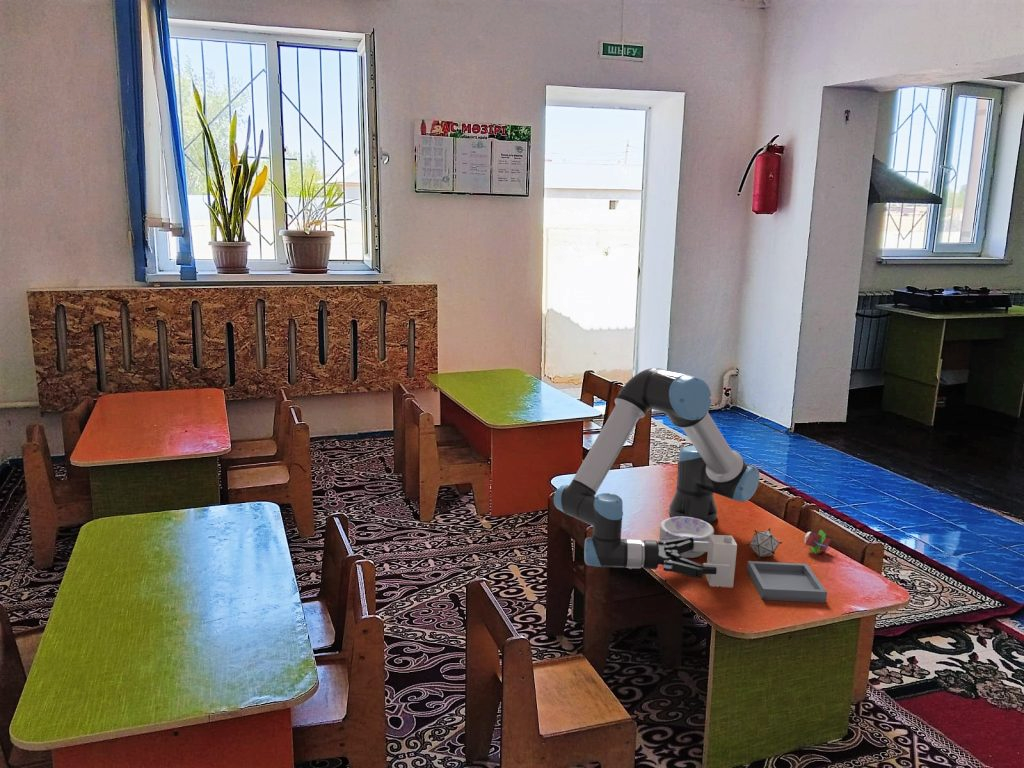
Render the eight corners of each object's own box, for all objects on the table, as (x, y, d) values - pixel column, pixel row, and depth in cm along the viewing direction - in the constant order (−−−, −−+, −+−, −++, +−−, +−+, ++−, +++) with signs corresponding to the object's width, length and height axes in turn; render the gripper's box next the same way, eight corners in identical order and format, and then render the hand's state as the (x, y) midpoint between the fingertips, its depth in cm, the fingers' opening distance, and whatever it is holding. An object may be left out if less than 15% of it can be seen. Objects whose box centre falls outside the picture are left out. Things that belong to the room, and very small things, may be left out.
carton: (705, 575, 208) (709, 531, 205) (727, 576, 208) (732, 532, 205) (709, 586, 202) (714, 540, 199) (733, 587, 202) (737, 541, 199)
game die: (767, 571, 220) (784, 554, 213) (740, 558, 221) (755, 540, 214) (772, 546, 226) (788, 529, 219) (745, 533, 227) (760, 516, 220)
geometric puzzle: (830, 540, 228) (816, 520, 226) (841, 550, 221) (827, 529, 220) (809, 553, 229) (796, 533, 227) (820, 563, 222) (806, 543, 220)
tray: (746, 571, 211) (747, 561, 211) (805, 573, 211) (806, 563, 210) (762, 599, 196) (763, 588, 195) (825, 602, 195) (827, 592, 194)
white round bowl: (663, 562, 215) (665, 536, 214) (654, 539, 230) (656, 515, 229) (718, 564, 215) (720, 537, 214) (705, 541, 230) (707, 516, 229)
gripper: (636, 547, 217) (712, 551, 216) (646, 589, 193) (732, 594, 192) (638, 522, 216) (714, 526, 215) (648, 562, 191) (734, 566, 190)
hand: (723, 558), depth 203 cm, fingers open, 13 cm apart
